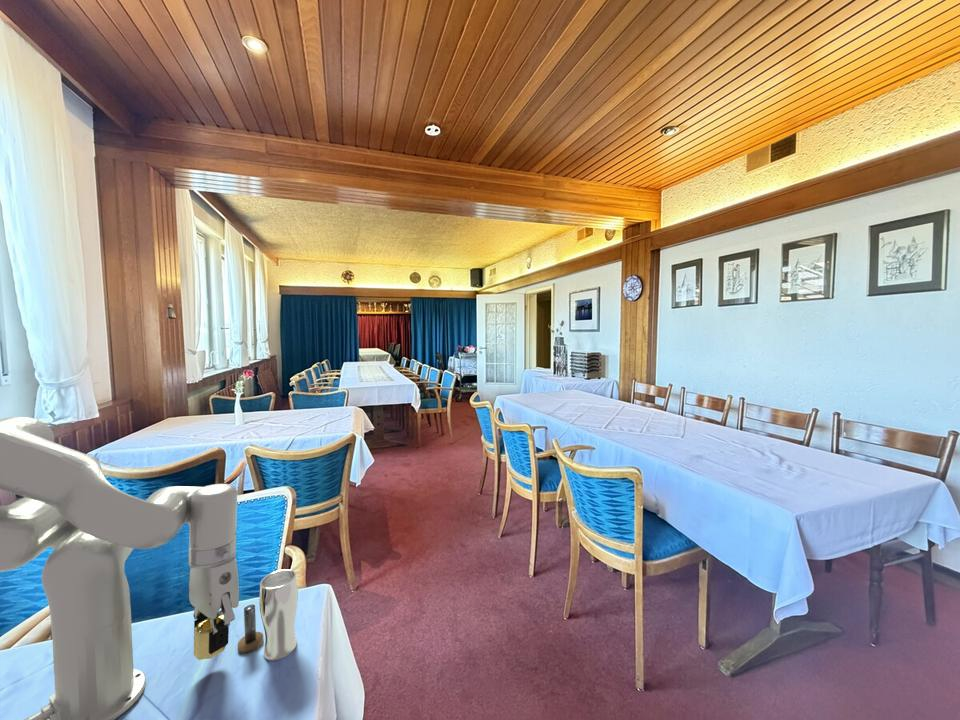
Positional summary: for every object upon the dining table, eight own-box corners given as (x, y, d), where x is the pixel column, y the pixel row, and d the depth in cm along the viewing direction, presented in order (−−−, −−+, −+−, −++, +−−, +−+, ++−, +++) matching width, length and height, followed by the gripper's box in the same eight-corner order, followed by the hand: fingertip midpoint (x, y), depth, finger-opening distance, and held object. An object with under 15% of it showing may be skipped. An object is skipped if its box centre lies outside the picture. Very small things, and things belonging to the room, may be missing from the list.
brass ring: (202, 663, 70) (203, 637, 70) (189, 651, 72) (190, 626, 72) (231, 645, 74) (232, 620, 74) (218, 635, 77) (219, 611, 77)
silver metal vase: (305, 636, 81) (303, 569, 80) (286, 664, 74) (283, 590, 74) (275, 634, 82) (273, 567, 81) (253, 661, 75) (250, 588, 74)
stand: (245, 656, 76) (243, 618, 76) (233, 647, 78) (232, 610, 78) (267, 641, 80) (266, 604, 80) (255, 633, 82) (254, 597, 82)
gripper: (257, 554, 72) (254, 648, 72) (212, 531, 80) (210, 614, 81) (213, 573, 65) (211, 676, 66) (170, 546, 74) (168, 636, 74)
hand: (211, 641), depth 73 cm, fingers closed on brass ring, 5 cm apart
